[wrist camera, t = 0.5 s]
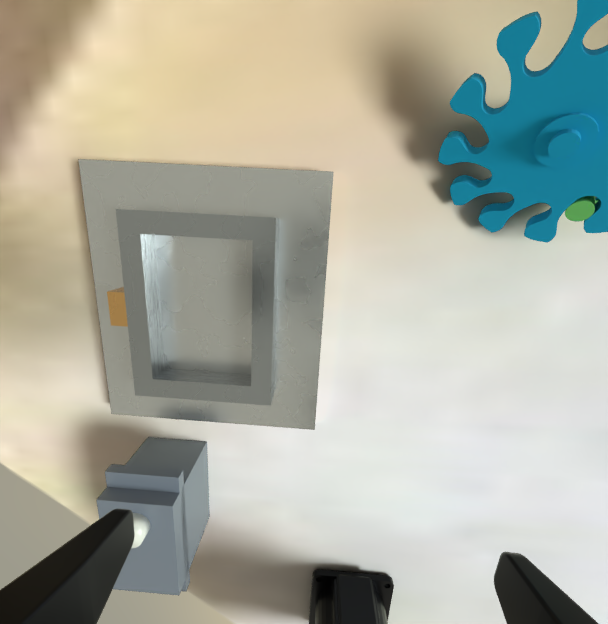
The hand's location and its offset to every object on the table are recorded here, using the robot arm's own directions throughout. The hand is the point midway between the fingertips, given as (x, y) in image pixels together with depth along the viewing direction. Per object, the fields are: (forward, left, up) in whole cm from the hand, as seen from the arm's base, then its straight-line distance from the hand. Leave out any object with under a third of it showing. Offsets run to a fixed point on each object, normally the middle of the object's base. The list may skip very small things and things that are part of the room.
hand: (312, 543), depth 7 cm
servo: (-12, +10, -13) cm, 20 cm away
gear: (+11, -10, -13) cm, 20 cm away
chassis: (+2, +7, -13) cm, 15 cm away
